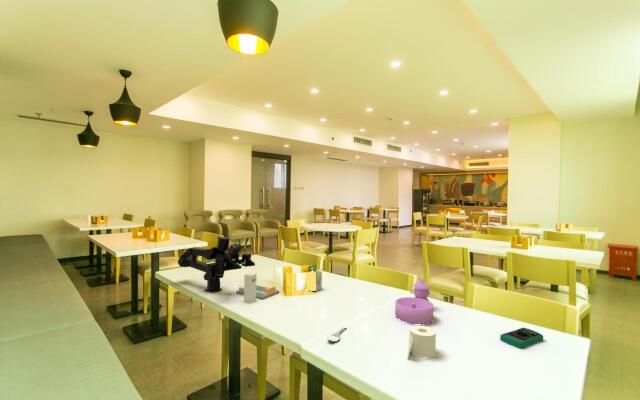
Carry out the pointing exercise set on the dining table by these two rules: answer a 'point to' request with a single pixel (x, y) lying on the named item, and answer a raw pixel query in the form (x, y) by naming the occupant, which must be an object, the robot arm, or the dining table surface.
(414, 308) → the container set
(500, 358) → the dining table surface
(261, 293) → the rail mount
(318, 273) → the ink box
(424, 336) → the toilet paper
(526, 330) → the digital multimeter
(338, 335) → the spoon
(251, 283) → the rail module
